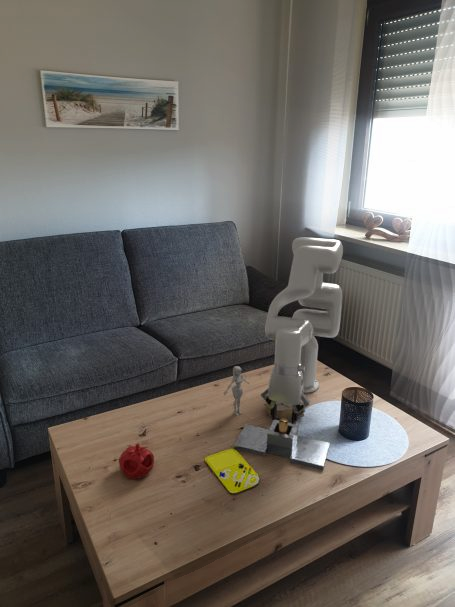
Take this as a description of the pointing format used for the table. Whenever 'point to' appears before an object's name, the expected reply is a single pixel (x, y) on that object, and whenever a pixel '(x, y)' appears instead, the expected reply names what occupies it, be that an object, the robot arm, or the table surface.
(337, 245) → the robot arm
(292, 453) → the hinge frame
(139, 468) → the pomegranate
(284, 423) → the hinge pin
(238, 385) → the human figurine
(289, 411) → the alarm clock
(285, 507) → the table surface
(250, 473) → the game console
